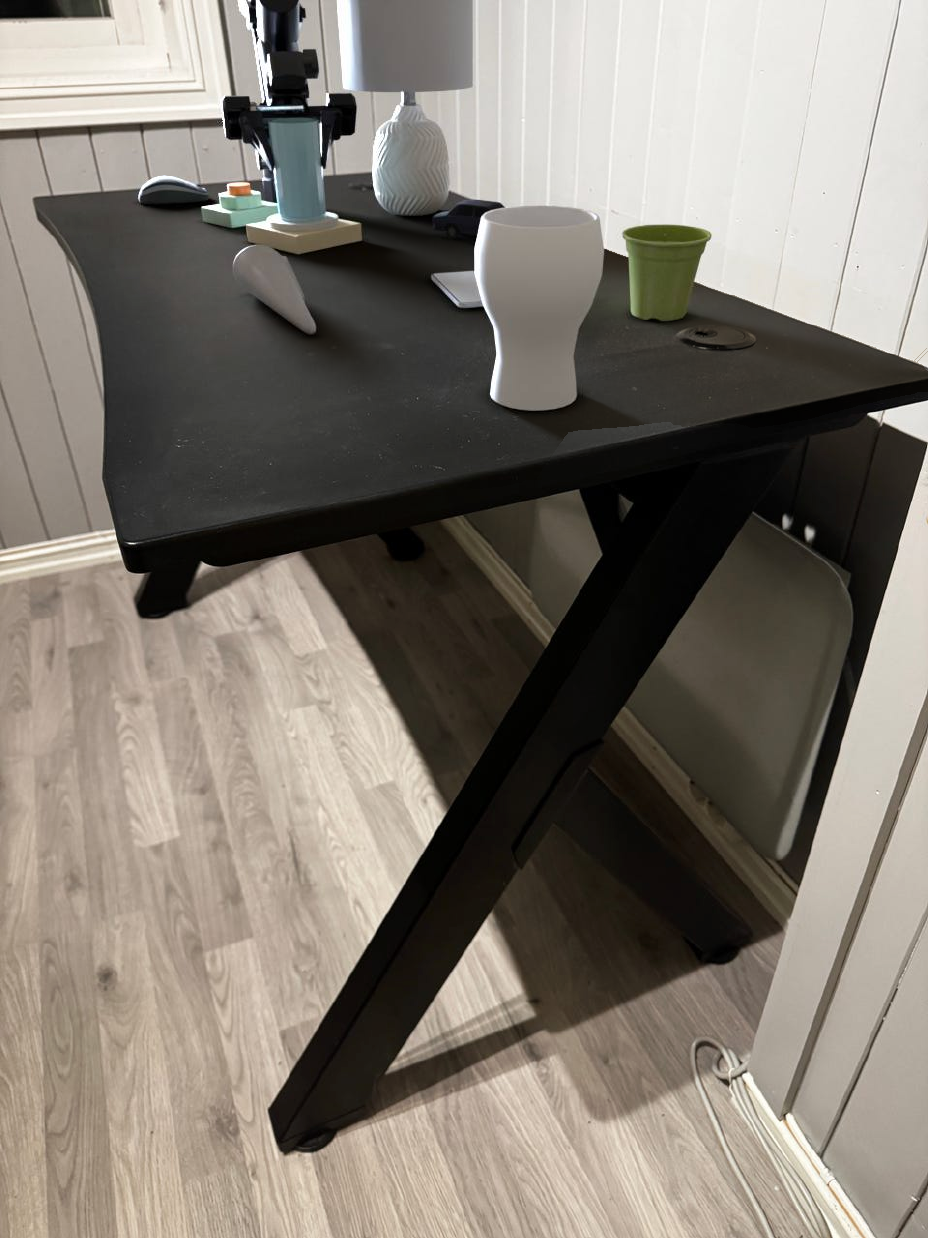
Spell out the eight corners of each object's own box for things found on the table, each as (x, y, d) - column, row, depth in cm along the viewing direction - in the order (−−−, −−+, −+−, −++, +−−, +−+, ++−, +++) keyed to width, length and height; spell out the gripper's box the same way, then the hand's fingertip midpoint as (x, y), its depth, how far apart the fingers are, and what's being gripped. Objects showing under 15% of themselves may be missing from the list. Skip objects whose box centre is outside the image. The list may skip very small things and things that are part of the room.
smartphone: (485, 269, 117) (521, 298, 105) (485, 274, 117) (520, 304, 105) (429, 273, 115) (459, 303, 103) (429, 278, 116) (459, 309, 103)
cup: (514, 368, 87) (519, 199, 79) (613, 389, 82) (629, 212, 74) (451, 401, 80) (448, 219, 72) (555, 427, 75) (565, 235, 67)
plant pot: (649, 331, 97) (658, 246, 92) (599, 309, 104) (605, 229, 99) (717, 319, 100) (730, 236, 95) (664, 299, 107) (673, 220, 102)
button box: (254, 212, 153) (250, 186, 151) (283, 218, 148) (280, 192, 146) (203, 221, 147) (199, 194, 145) (231, 228, 142) (227, 200, 140)
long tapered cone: (258, 356, 95) (232, 292, 109) (318, 357, 98) (286, 293, 111) (258, 302, 92) (232, 243, 106) (320, 304, 94) (287, 245, 108)
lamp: (417, 197, 164) (408, -56, 143) (497, 211, 152) (501, -62, 131) (327, 212, 152) (304, -60, 132) (407, 229, 140) (395, -68, 120)
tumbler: (295, 210, 136) (285, 116, 129) (334, 214, 134) (327, 118, 127) (270, 219, 131) (258, 121, 124) (310, 223, 129) (301, 124, 122)
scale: (311, 229, 141) (309, 206, 140) (362, 240, 135) (360, 216, 133) (247, 241, 134) (244, 217, 132) (297, 254, 127) (295, 229, 126)
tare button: (242, 193, 148) (241, 181, 147) (256, 195, 146) (254, 183, 145) (224, 196, 146) (222, 184, 145) (237, 198, 143) (235, 186, 142)
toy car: (515, 246, 131) (516, 209, 128) (429, 236, 136) (428, 200, 134) (533, 238, 135) (534, 202, 132) (449, 229, 141) (448, 194, 138)
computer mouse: (209, 202, 161) (205, 177, 158) (137, 205, 159) (132, 180, 156) (209, 195, 166) (206, 171, 164) (140, 198, 164) (136, 174, 162)
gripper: (210, 26, 121) (226, 129, 118) (349, 24, 124) (368, 124, 122) (218, 89, 131) (233, 185, 129) (345, 86, 135) (362, 179, 133)
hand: (298, 167), depth 128 cm, fingers closed on tumbler, 7 cm apart
